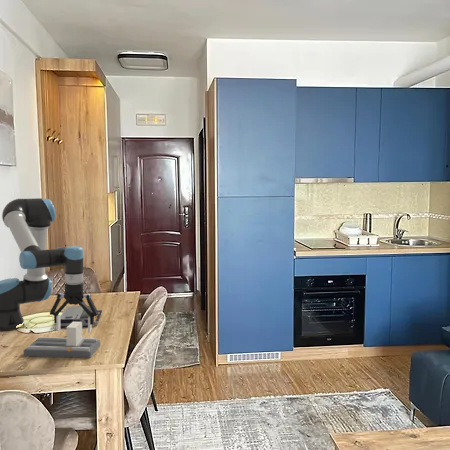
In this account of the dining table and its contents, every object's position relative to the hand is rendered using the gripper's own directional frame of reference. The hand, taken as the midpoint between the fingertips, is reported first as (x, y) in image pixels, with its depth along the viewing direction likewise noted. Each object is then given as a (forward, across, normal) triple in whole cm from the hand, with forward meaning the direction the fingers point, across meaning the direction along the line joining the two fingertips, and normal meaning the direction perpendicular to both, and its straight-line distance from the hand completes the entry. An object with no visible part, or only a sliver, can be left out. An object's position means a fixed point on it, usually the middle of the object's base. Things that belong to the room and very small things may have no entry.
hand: (74, 330), depth 196 cm
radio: (+10, -11, +42) cm, 45 cm away
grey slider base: (+9, -5, 0) cm, 10 cm away
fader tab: (+6, 0, 0) cm, 6 cm away
